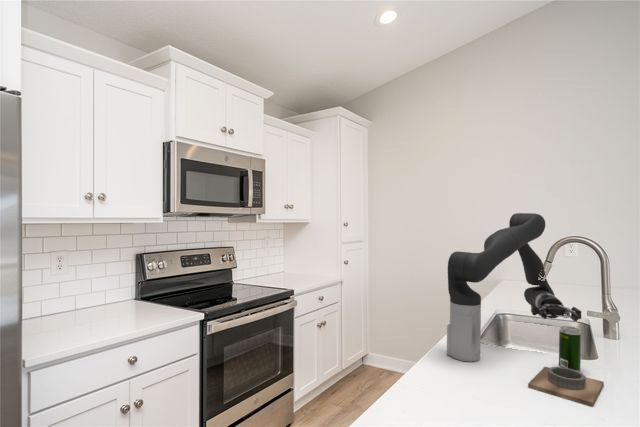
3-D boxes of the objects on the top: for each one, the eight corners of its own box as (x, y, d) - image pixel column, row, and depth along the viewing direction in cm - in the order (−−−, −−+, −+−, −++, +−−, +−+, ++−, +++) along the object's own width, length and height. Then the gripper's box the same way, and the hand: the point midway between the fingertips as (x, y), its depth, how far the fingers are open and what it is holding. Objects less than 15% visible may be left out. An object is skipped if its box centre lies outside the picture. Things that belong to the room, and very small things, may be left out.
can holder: (528, 387, 100) (528, 374, 100) (544, 369, 112) (544, 357, 112) (592, 406, 91) (592, 392, 91) (603, 385, 102) (603, 372, 102)
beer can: (575, 374, 109) (575, 332, 109) (555, 367, 114) (555, 327, 113) (583, 370, 112) (584, 329, 112) (563, 364, 116) (564, 324, 116)
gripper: (526, 293, 141) (535, 303, 126) (571, 296, 136) (586, 307, 121) (526, 313, 141) (535, 326, 126) (571, 317, 136) (586, 330, 121)
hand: (560, 317), depth 123 cm, fingers open, 8 cm apart
